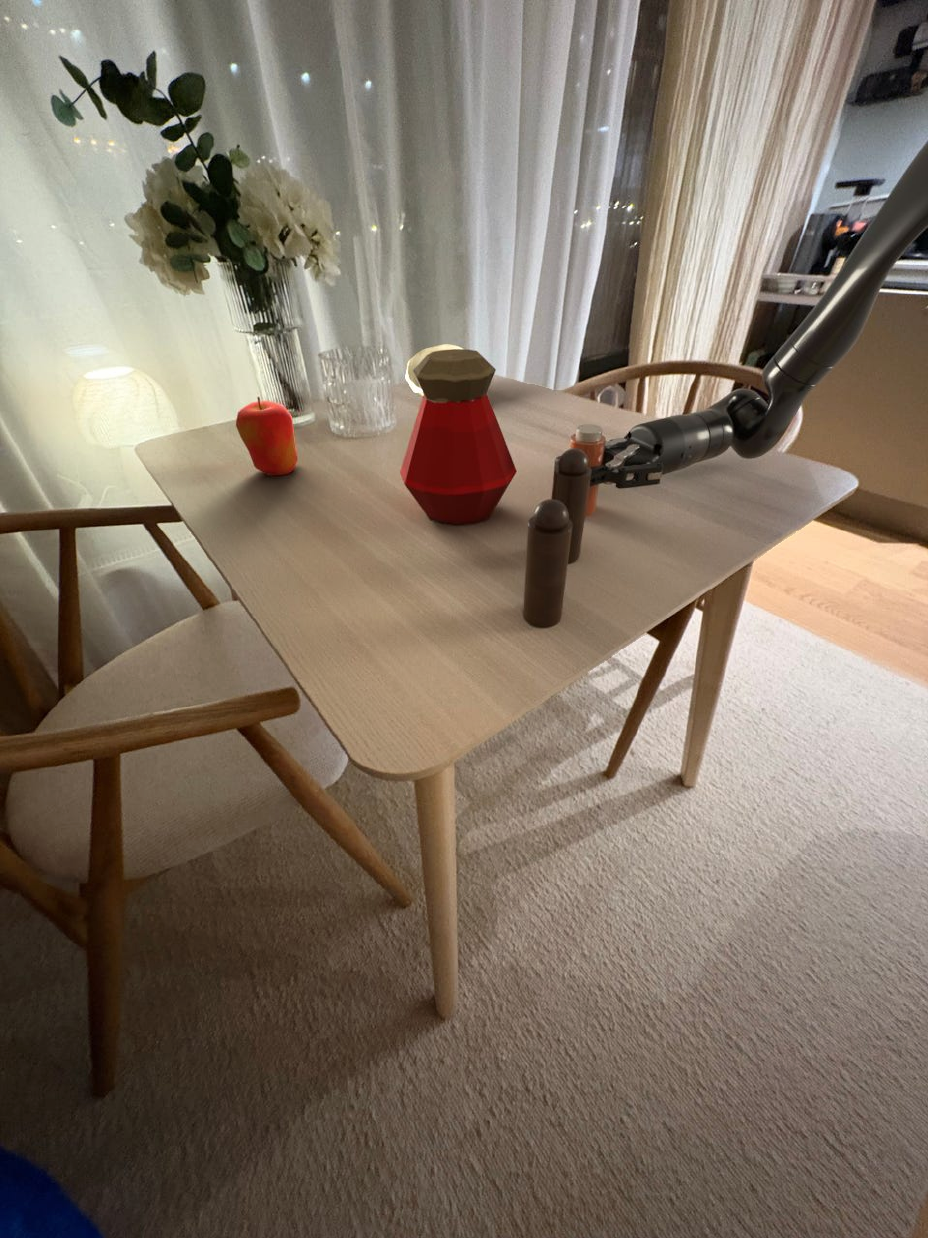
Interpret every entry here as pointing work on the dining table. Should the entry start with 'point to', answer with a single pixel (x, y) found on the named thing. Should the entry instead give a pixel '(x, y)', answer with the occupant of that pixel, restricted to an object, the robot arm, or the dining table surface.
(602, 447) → the shaker
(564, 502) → the post
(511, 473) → the bottle
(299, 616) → the dining table surface
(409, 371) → the bowl
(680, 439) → the robot arm
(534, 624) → the post
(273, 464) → the apple
